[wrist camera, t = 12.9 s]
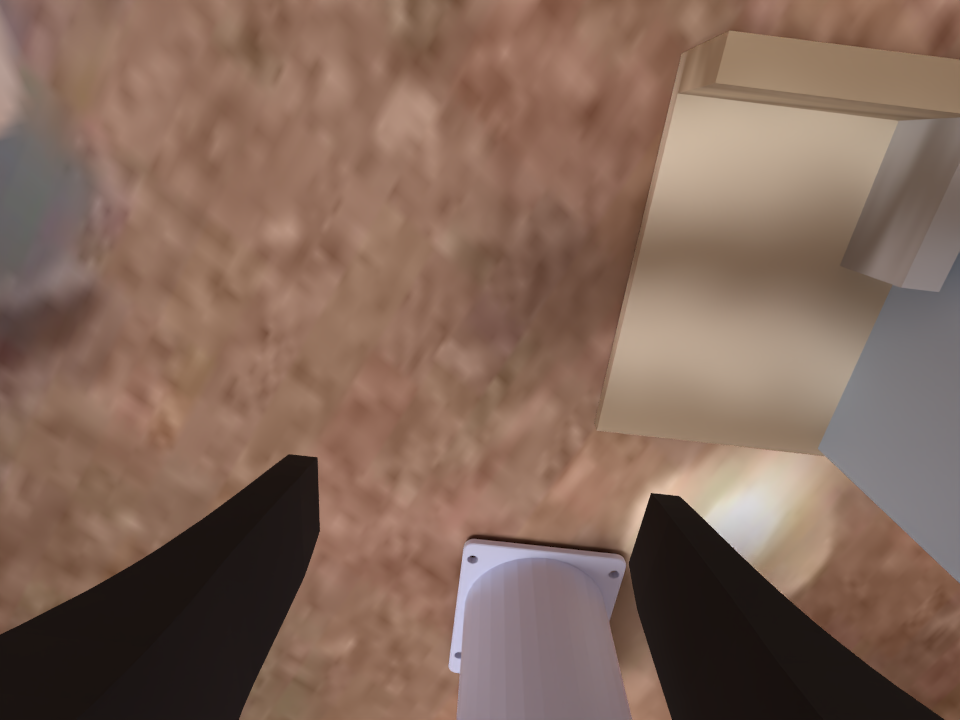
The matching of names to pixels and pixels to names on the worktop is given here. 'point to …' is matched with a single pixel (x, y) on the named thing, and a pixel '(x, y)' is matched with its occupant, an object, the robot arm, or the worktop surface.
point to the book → (908, 417)
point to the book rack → (780, 235)
